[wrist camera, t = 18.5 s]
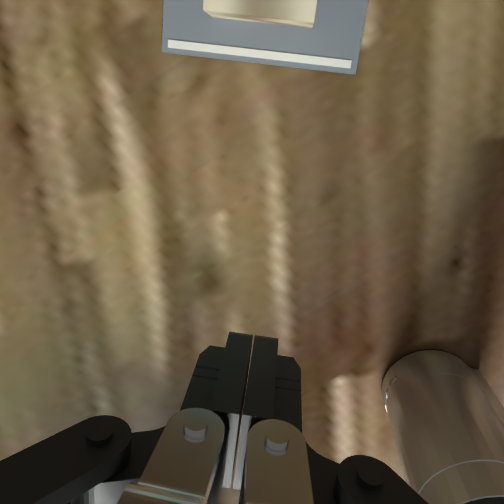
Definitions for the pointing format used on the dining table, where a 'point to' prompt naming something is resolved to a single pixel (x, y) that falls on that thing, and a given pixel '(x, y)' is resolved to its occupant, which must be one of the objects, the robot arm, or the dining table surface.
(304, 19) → the base block
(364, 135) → the dining table surface
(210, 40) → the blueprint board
